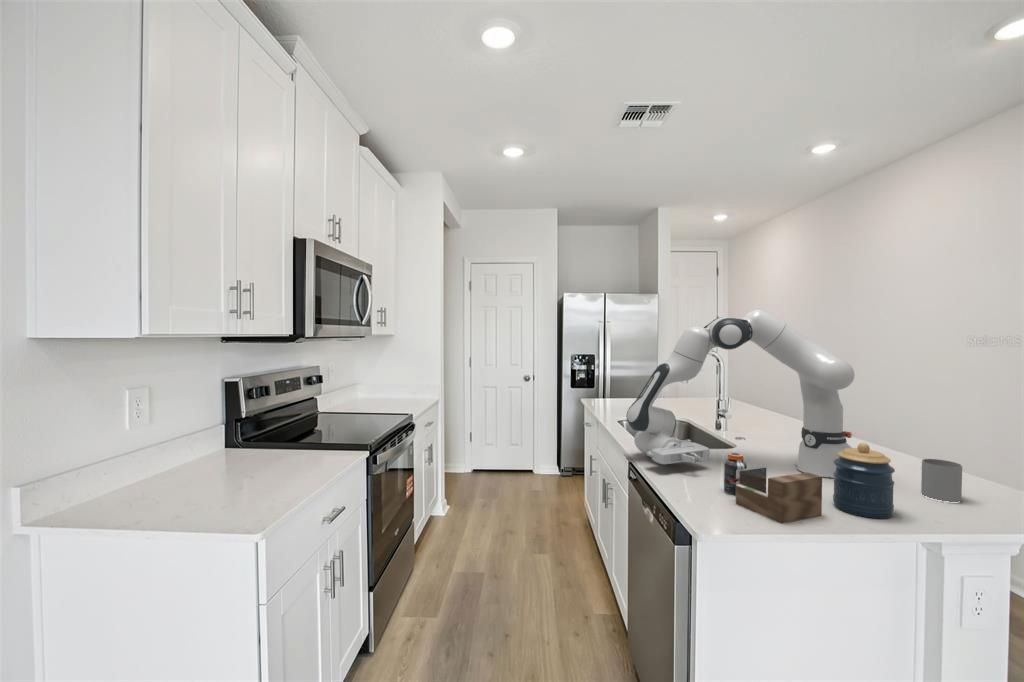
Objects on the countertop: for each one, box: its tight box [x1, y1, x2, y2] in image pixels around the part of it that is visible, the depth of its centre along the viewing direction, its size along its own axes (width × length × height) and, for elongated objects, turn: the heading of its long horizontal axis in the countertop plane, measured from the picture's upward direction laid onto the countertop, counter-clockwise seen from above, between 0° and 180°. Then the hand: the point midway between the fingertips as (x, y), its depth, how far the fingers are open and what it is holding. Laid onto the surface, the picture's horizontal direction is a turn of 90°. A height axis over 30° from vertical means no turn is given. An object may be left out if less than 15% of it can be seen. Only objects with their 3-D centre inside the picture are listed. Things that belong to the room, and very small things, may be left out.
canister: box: [832, 442, 896, 519], centre depth 125 cm, size 13×13×18 cm
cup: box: [920, 458, 963, 502], centre depth 134 cm, size 8×8×10 cm
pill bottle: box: [723, 452, 748, 496], centre depth 138 cm, size 6×6×11 cm
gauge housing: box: [735, 472, 823, 524], centre depth 125 cm, size 14×14×10 cm
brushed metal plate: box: [730, 465, 767, 494], centre depth 133 cm, size 12×1×8 cm, turn 111°
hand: (697, 460), depth 153 cm, fingers closed
